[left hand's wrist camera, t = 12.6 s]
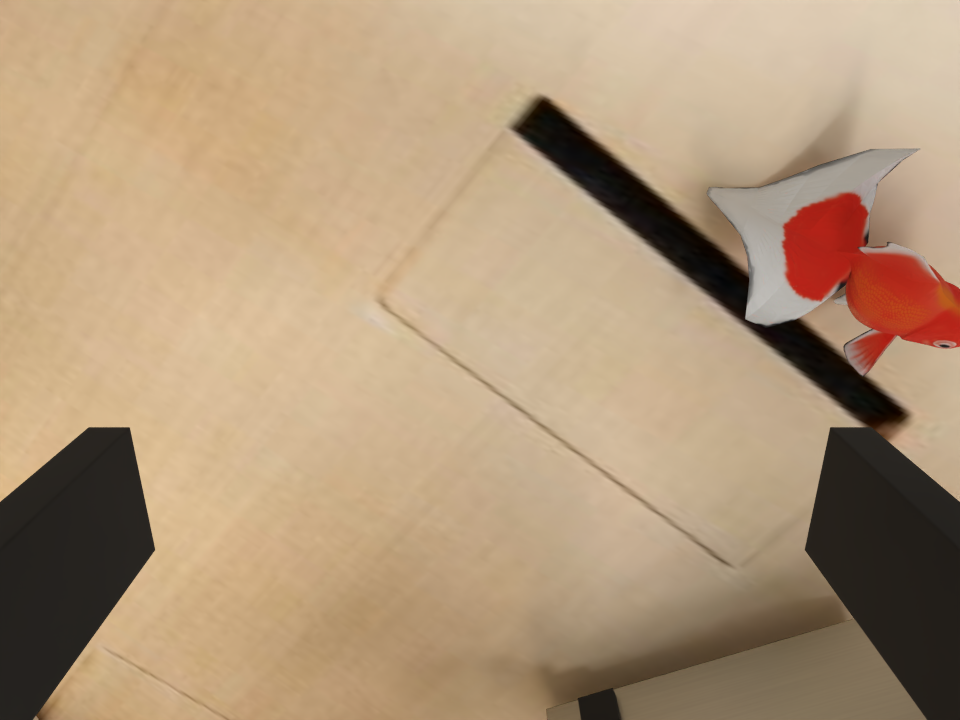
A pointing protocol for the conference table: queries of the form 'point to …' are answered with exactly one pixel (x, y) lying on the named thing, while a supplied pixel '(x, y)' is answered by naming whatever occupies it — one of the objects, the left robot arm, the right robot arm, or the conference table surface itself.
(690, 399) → the conference table surface
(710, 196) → the fish
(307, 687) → the conference table surface
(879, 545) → the left robot arm
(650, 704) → the bar
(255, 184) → the conference table surface
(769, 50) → the conference table surface
